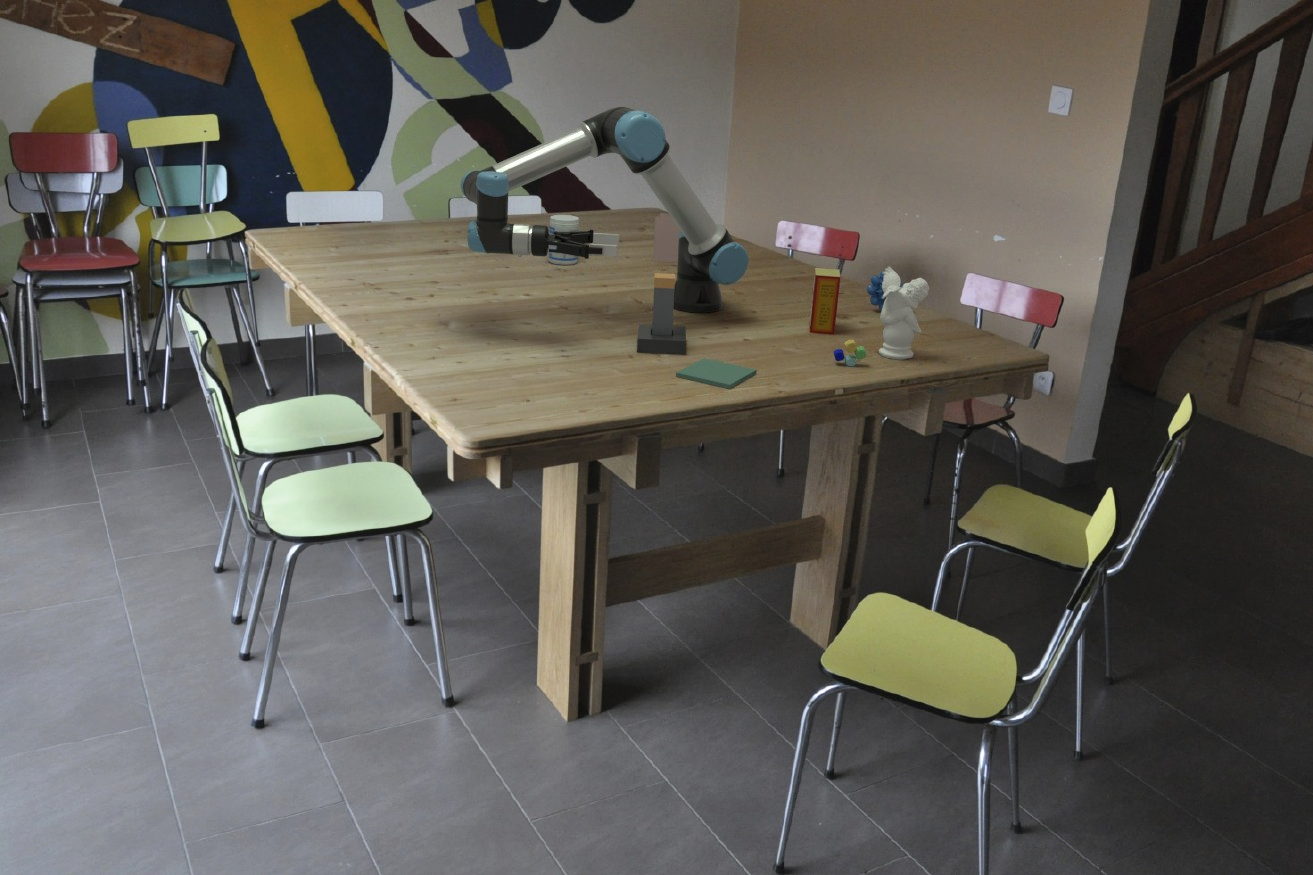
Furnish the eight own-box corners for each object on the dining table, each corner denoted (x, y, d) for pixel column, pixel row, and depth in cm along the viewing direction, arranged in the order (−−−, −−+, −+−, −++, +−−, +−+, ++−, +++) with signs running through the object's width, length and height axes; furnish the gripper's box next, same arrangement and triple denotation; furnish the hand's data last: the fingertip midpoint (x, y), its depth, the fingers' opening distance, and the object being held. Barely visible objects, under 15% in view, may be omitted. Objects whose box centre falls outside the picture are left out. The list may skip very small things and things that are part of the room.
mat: (704, 362, 269) (704, 358, 269) (756, 373, 263) (756, 369, 262) (675, 376, 258) (676, 372, 257) (729, 389, 251) (729, 384, 251)
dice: (832, 365, 272) (835, 340, 269) (831, 362, 274) (834, 337, 272) (865, 367, 272) (868, 342, 269) (864, 364, 274) (867, 339, 272)
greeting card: (688, 262, 371) (691, 217, 365) (677, 266, 365) (680, 220, 359) (659, 257, 376) (661, 212, 371) (647, 260, 370) (649, 215, 365)
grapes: (866, 315, 318) (871, 273, 314) (862, 308, 324) (867, 268, 320) (907, 317, 318) (912, 275, 314) (902, 310, 324) (908, 270, 320)
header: (638, 337, 286) (638, 324, 285) (684, 339, 286) (685, 326, 285) (636, 352, 274) (637, 338, 273) (685, 354, 274) (686, 341, 273)
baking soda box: (809, 323, 307) (815, 266, 301) (833, 325, 306) (839, 268, 300) (809, 332, 298) (815, 274, 292) (834, 334, 298) (840, 275, 292)
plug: (651, 342, 282) (654, 272, 276) (671, 343, 282) (674, 273, 276) (651, 348, 278) (654, 277, 271) (671, 349, 278) (675, 278, 271)
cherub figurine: (923, 357, 282) (937, 272, 274) (898, 367, 274) (911, 279, 265) (882, 345, 290) (894, 262, 281) (856, 354, 281) (868, 269, 273)
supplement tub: (543, 263, 359) (543, 217, 354) (557, 257, 368) (558, 213, 362) (569, 267, 356) (570, 221, 350) (583, 261, 364) (584, 216, 358)
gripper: (537, 245, 286) (619, 250, 286) (525, 266, 263) (614, 271, 263) (537, 216, 284) (620, 221, 284) (525, 234, 260) (616, 240, 261)
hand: (618, 245), depth 273 cm, fingers open, 13 cm apart
